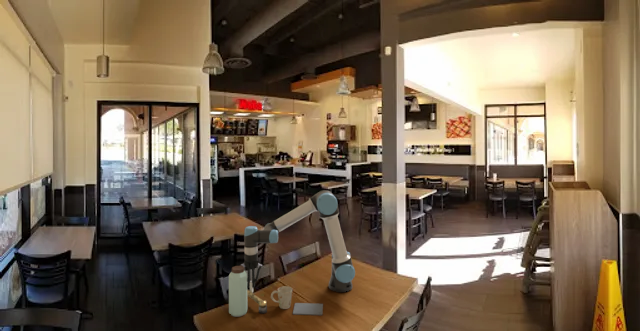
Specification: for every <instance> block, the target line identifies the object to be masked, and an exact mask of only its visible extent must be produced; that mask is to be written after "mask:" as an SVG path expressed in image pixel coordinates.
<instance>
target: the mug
mask: <svg viewBox="0 0 640 331" xmlns="http://www.w3.org/2000/svg"><path fill="white" fill-rule="evenodd" d="M275 294H277V297H278V300H276V299H275V298H274V295H275ZM292 295H293V288H292V287H291V286H288V285H287V286H285V285H284V286H280V287H278V288H277V289H276V290H273V291H272V292H271V294H270V299H271V300H272V301H273V302H274V303H278V305H279V308H280V309H282V310H287V309H290V308H291V304H292Z"/></svg>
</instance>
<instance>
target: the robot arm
mask: <svg viewBox="0 0 640 331" xmlns="http://www.w3.org/2000/svg"><path fill="white" fill-rule="evenodd" d="M314 212H318V214H319V218H320V219H322V220H323V224H324V226H325V227H324V228H325V231H326V234H327V239H328V243H329V247H330V251H331V274H330V278H329V280H328V288H329V290H331V291H333V292H335V291H336V293H347V292H350V291H352V289H353V283H352V282H353V280H354V279H355V276H356V270H355V267H354V265H353V261H352V256H351V252H349V251H347V248H346V243H345V240H344V237H343V236H344V235H343V232H342V229H341V224H340V220H339V217H338V216H339V214H340V210H339V204H338V199H337V197H336V196H335V195H334V193H332V191H330V190H327V189H326V190H325V189H323V190H320V191H319V192H317V193H315V194H314V195H313V196H310V197H309V198H308V201H305V202H304V203H302V204H300V205H298V206H297V207H295V208H294V209H292V210H291V211H289V212H287V213H285V214H283V215H282V216H280V217H279V218H277V219H275V220H273V221H272V222H270V223H269V222H268V223H267V224H265V225H264V227H263V229H258V226H255V225H249V226H245V228H244V235H243V239H244V241H243V242H244V243H243V244H244V248H243V249H244V262H243V263H241V264H240V265H239V266H243V267H244V271H245V272H247V288H249V291H250V292H252V293H253V294H254V288H255V287H256V282H258V280H259V277H260V274H261V269H262V267H263V264H262V263H259V260H258V259H259V257H258V255H259V254H258V252H259V250H258V244H277V243H278V242H279V233H280V232H282V231H284V230H285V229H287V228H289V227H290V226H292V225H294V224H295V223H298V222H299V221H301V220H302V219H304V218H306V217H308V216H309V215H310V214H312V213H314ZM256 267H257V268H256ZM256 269H257V271H256ZM349 290H350V291H349ZM346 291H347V292H346Z"/></svg>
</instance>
